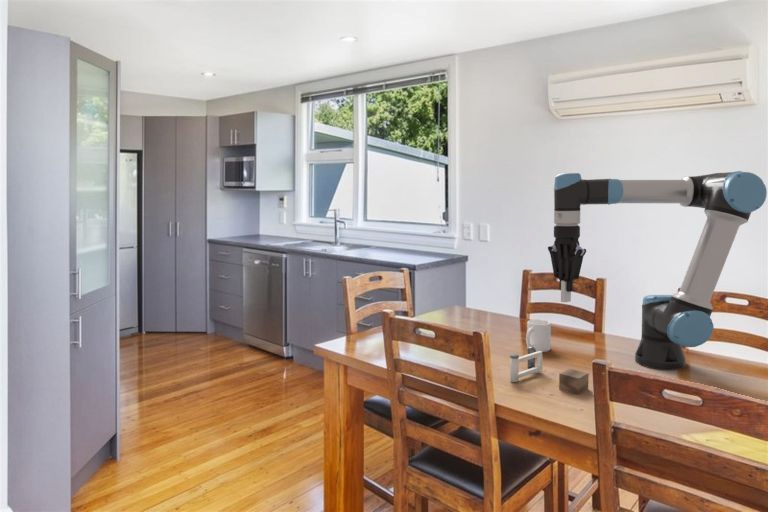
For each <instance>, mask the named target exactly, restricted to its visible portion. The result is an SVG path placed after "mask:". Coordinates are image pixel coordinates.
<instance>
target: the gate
mask: <svg viewBox="0 0 768 512" xmlns="http://www.w3.org/2000/svg"><path fill="white" fill-rule="evenodd" d="M509 356H510V357H509V358H510V364H509V365H510V366H509V367H510V369H509V370H510V375H509V376H510V379H509V380H510V382H511V383H518V382H519V379H520V378H523V377H526V376H529V375H531V374H535V373H537V374H541V373H542V372H543V352H542V351H537V352H534V353H531V354H528V353H527V354H524V355H522V356H520V355H519V354H518V353H517V354H516V353H512V354H510V355H509ZM532 358H535V359H536V365H535V367H533V368H530V369H528V368H526V369H525V370H521V371H519V364H520V363H522V362H527V361H528V360H529V359H532Z"/></svg>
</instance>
